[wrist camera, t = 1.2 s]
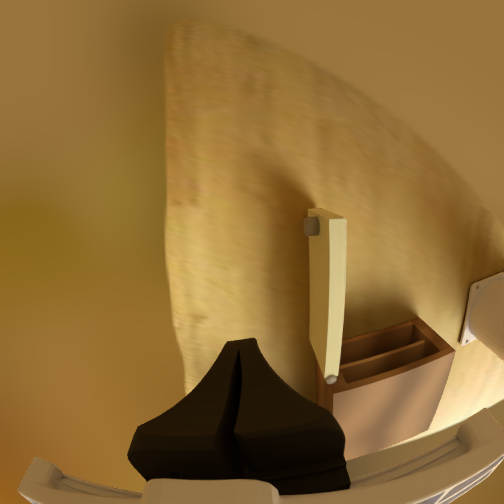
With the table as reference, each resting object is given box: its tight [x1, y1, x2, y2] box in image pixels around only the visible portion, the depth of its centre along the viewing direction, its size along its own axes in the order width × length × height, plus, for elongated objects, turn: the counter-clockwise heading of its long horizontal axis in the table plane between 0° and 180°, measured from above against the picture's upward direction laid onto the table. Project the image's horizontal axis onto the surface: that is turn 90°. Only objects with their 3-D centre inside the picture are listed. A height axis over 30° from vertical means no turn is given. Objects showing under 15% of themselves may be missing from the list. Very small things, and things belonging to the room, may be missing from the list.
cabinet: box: [315, 318, 455, 460], centre depth 21 cm, size 11×11×6 cm
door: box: [303, 208, 346, 384], centre depth 18 cm, size 11×2×6 cm, turn 5°
